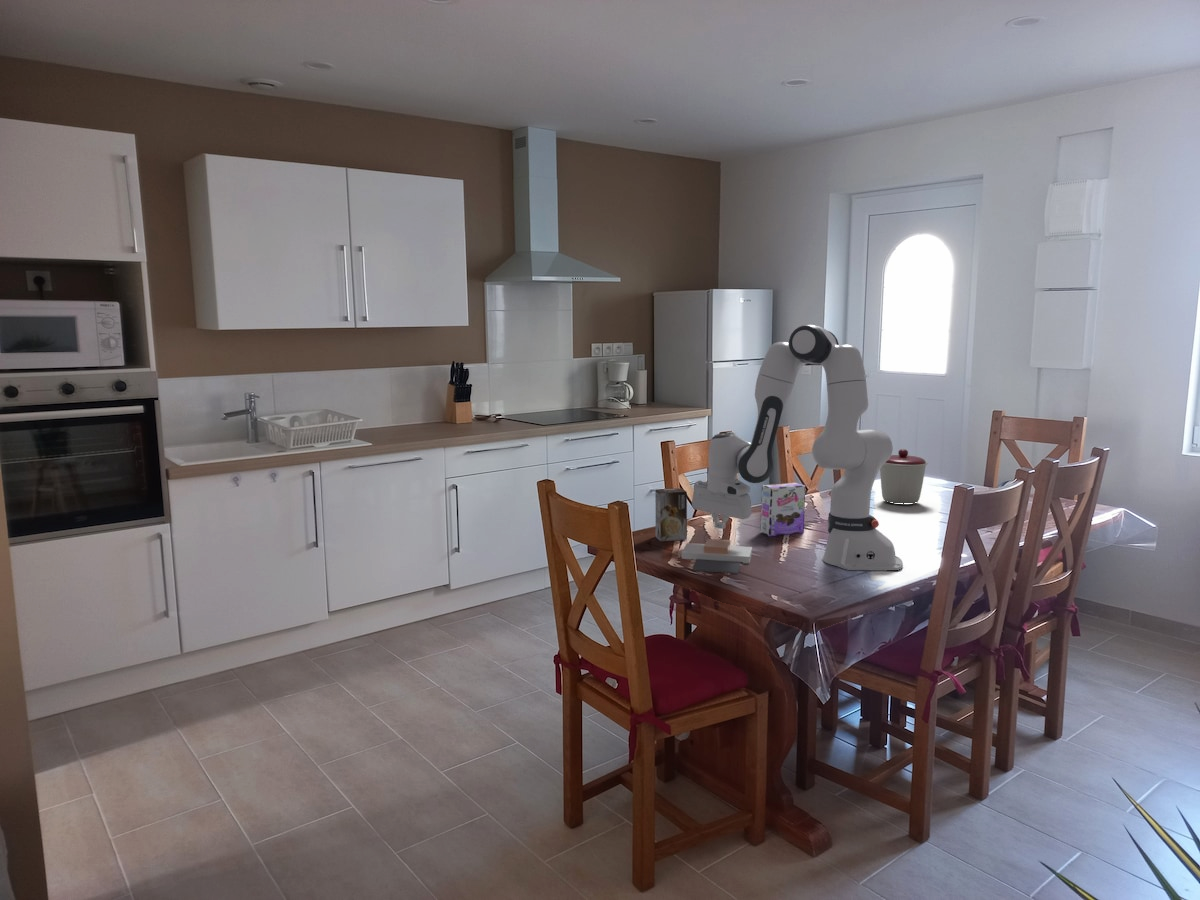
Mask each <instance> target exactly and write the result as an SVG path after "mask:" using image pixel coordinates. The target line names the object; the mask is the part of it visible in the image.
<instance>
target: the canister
mask: <svg viewBox="0 0 1200 900" xmlns="http://www.w3.org/2000/svg"><path fill="white" fill-rule="evenodd" d="M928 464H929V462H928V461H927V460H925V459H924V458H922V457H919V456H913V455H909V451H908V450H907V449H905V448H901V449H899V450H898V454H891V457H890V458H889V460H888V461H886V462H885V463H884V464H883V466H882V467H881V468H880V470H879V472H880V487H881V496H882V499H883V501H884V500H885V501H888V502H893V503H903V504H904V503H915V502H917V503H918V502H919V500H920V498H921V494H922V489H923V484H924V478H925V472H926V467H927V465H928ZM885 501H884V502H885Z"/></svg>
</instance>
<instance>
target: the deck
mask: <svg viewBox="0 0 1200 900" xmlns="http://www.w3.org/2000/svg"><path fill="white" fill-rule="evenodd" d="M704 545H705V543H692V542H691V543H689V542H686V544H685V545H684V548H683V550H682V551H681V560H691V559H693V560H695V561H696V559H703V560H718V561H733V562H743V563H742V564H750V563H751V558H752V555H753V547H752V546H739V545H730V549H729V552H728V554H713V553H704ZM693 560H692V561H693Z"/></svg>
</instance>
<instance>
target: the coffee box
mask: <svg viewBox="0 0 1200 900" xmlns="http://www.w3.org/2000/svg"><path fill="white" fill-rule="evenodd" d="M654 492H655V538H656V539H658V541H659V542H670V541H685V540H686V541H687V540H688V509H687V508H688V499H687V498H688V493H687V490H685V489H683V488H681V487H680V488H677V487H676V488H659V489H658V488H657V489H655V491H654Z"/></svg>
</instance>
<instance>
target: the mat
mask: <svg viewBox="0 0 1200 900" xmlns="http://www.w3.org/2000/svg"><path fill="white" fill-rule="evenodd" d="M740 563H741V562H733V561H718V560H703V559H696V560H695V561H694V563H693V566H692V567H691V569H690V570H695V571H694V572H700V571H706V572H705V573H714V572H721V573H720V574H728V573H734V574H733V575H738V574H737V573H739V569H740V566H741V564H742V563H741V564H740Z"/></svg>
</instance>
